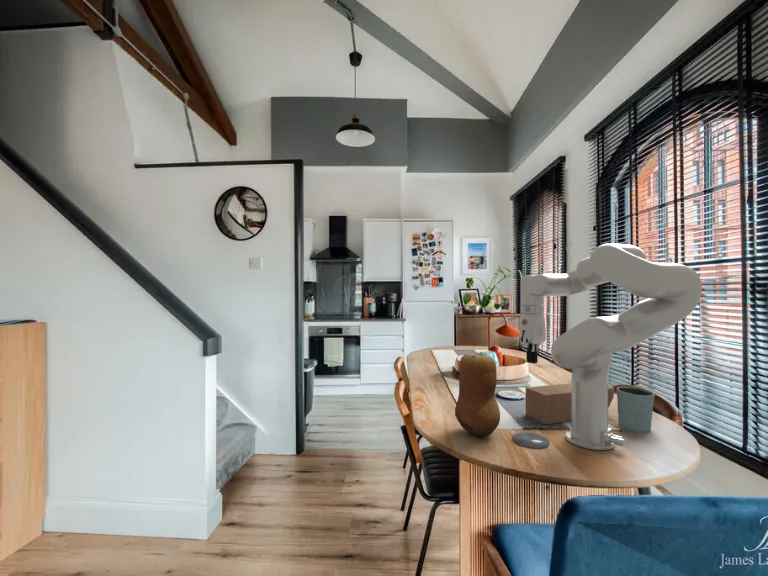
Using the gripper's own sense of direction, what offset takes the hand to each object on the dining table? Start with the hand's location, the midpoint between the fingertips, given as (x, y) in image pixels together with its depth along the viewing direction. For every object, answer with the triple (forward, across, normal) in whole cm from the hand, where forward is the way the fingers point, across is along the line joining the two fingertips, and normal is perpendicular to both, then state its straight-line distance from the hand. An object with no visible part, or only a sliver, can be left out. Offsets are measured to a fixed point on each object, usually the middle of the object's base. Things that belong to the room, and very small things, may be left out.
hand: (531, 362), depth 127 cm
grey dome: (+19, -19, -10) cm, 29 cm away
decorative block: (+14, -2, -2) cm, 14 cm away
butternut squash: (+19, -27, +3) cm, 33 cm away
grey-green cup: (+19, +17, -26) cm, 37 cm away
